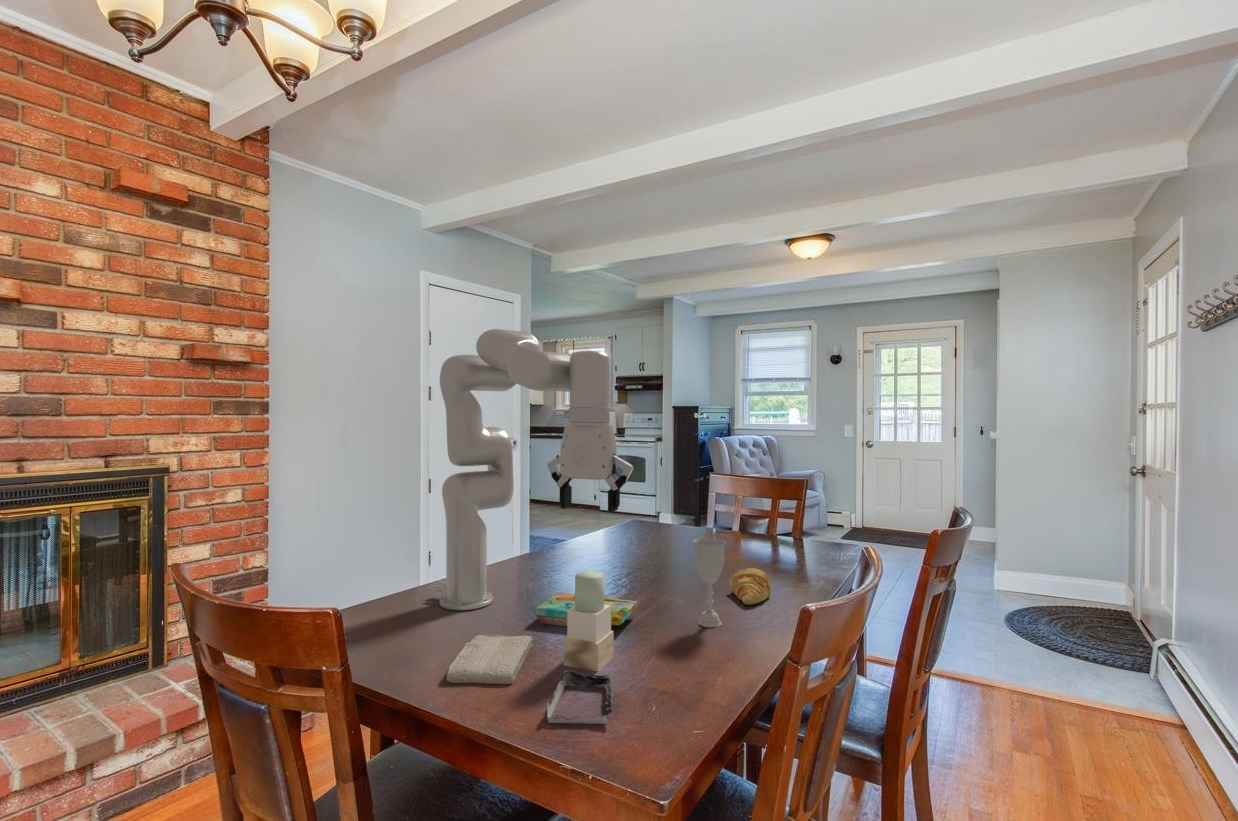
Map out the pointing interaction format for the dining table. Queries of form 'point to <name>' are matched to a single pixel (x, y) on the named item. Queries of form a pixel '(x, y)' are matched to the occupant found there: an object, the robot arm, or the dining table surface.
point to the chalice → (709, 573)
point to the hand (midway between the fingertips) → (589, 509)
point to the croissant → (750, 585)
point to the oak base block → (588, 652)
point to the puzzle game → (561, 602)
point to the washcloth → (490, 660)
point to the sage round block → (589, 591)
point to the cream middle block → (589, 624)
